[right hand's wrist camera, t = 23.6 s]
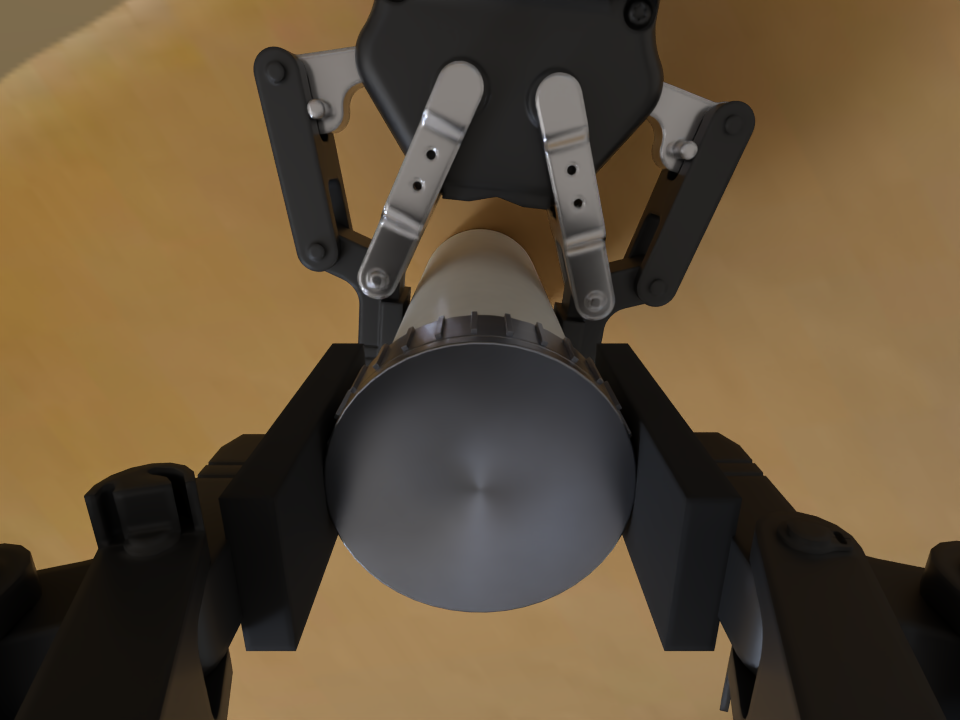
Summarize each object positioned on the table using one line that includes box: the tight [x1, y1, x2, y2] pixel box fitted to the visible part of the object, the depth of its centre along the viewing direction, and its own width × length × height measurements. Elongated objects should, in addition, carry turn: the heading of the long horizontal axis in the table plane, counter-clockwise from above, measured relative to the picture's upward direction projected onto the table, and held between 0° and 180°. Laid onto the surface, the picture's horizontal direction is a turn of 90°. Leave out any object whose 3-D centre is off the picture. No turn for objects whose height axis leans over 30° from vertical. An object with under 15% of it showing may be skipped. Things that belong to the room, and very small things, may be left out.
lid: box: [324, 311, 637, 612], centre depth 11 cm, size 6×6×2 cm
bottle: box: [393, 229, 565, 342], centre depth 18 cm, size 5×5×15 cm
